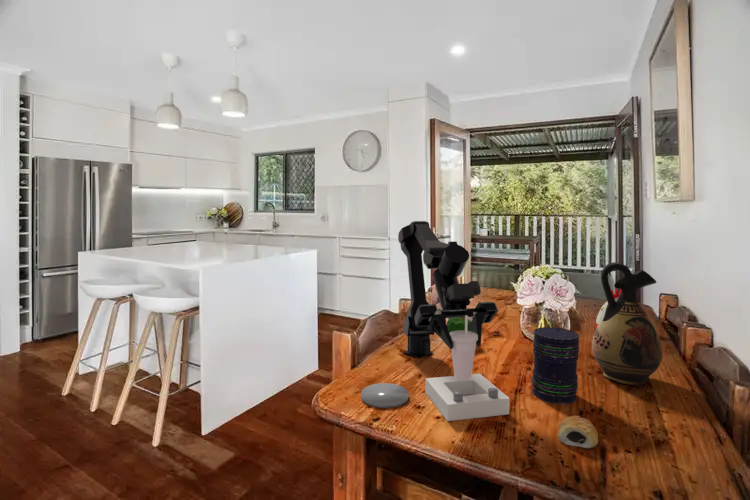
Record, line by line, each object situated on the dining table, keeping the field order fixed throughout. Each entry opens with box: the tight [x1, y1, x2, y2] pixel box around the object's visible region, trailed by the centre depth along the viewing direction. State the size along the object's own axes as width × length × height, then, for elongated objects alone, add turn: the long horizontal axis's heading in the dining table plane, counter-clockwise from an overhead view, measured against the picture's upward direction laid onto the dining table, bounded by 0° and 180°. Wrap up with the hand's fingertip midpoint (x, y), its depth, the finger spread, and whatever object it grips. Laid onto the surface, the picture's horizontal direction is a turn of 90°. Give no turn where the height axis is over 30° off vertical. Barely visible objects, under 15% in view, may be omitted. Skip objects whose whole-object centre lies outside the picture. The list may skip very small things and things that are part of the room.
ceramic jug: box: [591, 261, 664, 387], centre depth 107 cm, size 17×15×30 cm
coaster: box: [360, 382, 409, 409], centre depth 97 cm, size 11×11×1 cm
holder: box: [424, 373, 511, 422], centre depth 94 cm, size 14×14×5 cm
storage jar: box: [531, 326, 580, 405], centre depth 97 cm, size 10×10×15 cm
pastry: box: [556, 415, 599, 449], centre depth 80 cm, size 9×7×4 cm
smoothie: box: [449, 315, 478, 380], centre depth 93 cm, size 6×6×14 cm
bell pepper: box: [446, 318, 471, 333], centre depth 137 cm, size 8×8×10 cm
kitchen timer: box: [595, 288, 622, 328], centre depth 153 cm, size 14×14×15 cm
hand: (465, 347), depth 91 cm, fingers closed on smoothie, 6 cm apart
